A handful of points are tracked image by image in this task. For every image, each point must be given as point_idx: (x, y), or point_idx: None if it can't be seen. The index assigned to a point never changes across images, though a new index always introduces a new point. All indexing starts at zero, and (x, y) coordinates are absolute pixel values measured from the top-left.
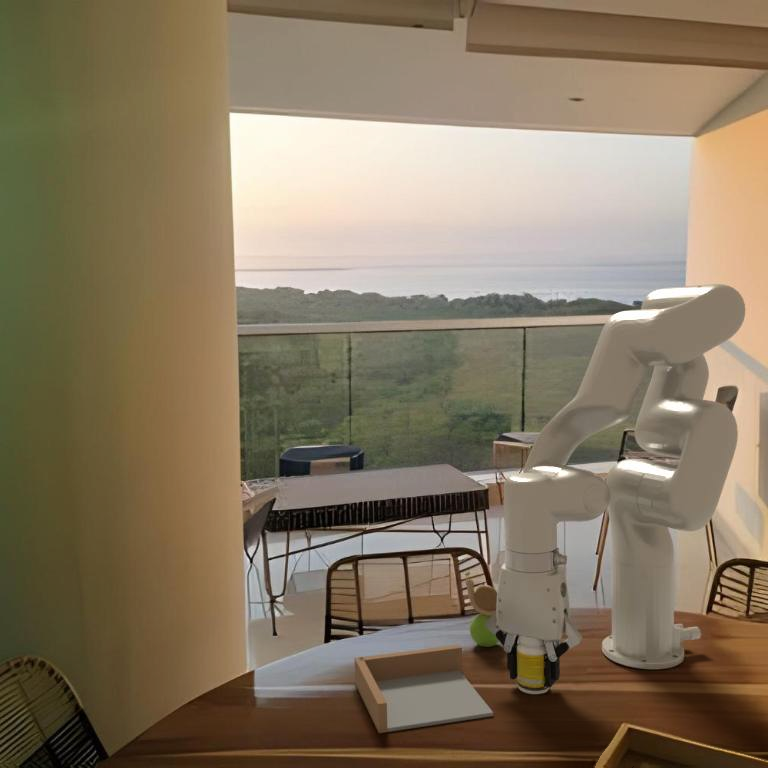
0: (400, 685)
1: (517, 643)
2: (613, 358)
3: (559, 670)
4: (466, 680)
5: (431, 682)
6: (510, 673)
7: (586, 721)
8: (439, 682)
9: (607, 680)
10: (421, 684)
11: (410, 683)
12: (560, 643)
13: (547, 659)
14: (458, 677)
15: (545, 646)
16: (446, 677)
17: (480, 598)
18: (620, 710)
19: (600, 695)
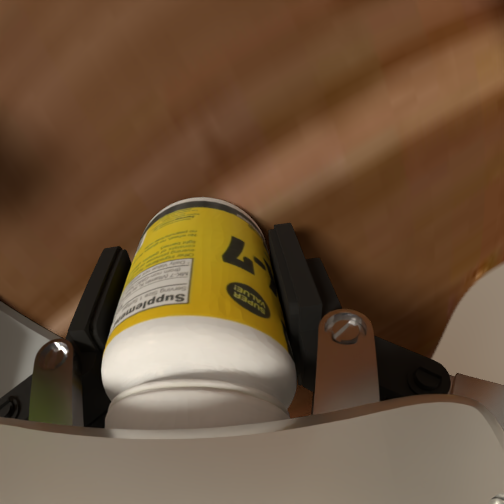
0: (4, 394)
1: (85, 373)
2: None
3: (325, 273)
4: (39, 336)
5: (14, 371)
6: None
7: (407, 318)
8: (21, 366)
9: (426, 39)
10: (14, 382)
11: (3, 384)
12: (376, 367)
13: (299, 373)
14: (16, 331)
15: (282, 399)
16: (5, 342)
17: None
18: (477, 227)
19: (430, 169)
